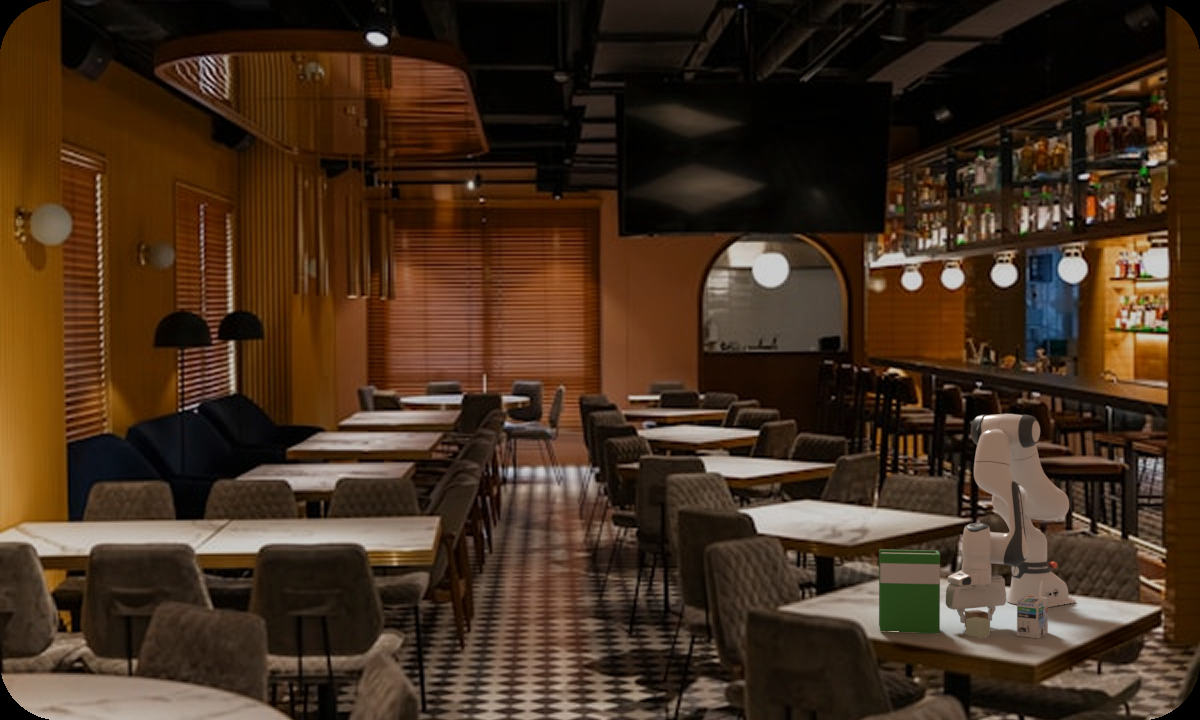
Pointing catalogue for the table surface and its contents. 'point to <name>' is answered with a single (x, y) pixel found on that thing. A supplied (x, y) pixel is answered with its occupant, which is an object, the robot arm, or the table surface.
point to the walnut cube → (976, 614)
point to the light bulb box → (1032, 616)
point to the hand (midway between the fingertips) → (976, 621)
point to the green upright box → (909, 591)
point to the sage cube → (978, 627)
